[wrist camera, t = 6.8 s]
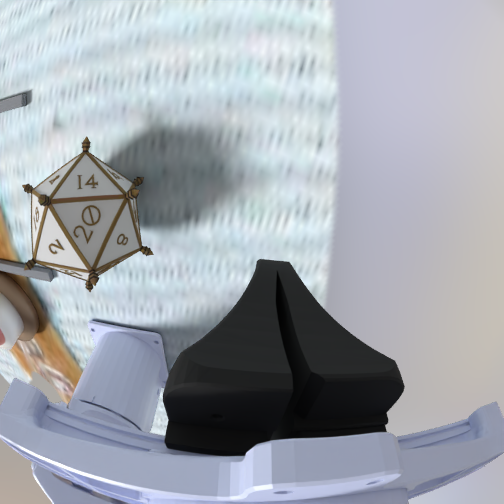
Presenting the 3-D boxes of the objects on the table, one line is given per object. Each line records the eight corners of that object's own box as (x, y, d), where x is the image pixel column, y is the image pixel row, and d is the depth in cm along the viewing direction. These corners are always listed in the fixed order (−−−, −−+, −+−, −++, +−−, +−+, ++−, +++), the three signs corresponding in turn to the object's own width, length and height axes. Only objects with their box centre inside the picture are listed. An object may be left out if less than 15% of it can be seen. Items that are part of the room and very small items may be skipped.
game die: (122, 158, 21) (65, 88, 11) (192, 227, 21) (159, 178, 11) (52, 239, 20) (-32, 214, 10) (114, 315, 20) (33, 333, 10)
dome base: (49, 340, 28) (44, 349, 27) (1, 323, 28) (-4, 330, 26) (22, 275, 23) (14, 283, 22) (-25, 263, 23) (-32, 270, 21)
